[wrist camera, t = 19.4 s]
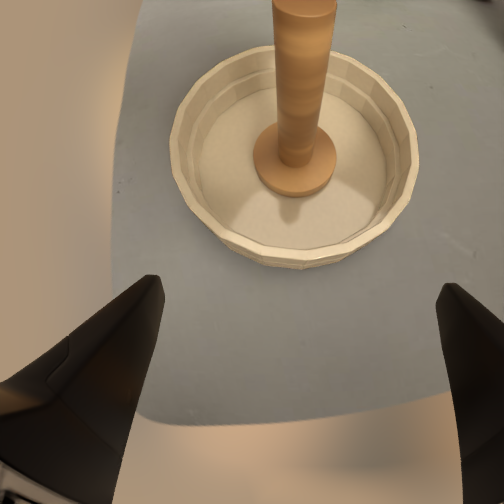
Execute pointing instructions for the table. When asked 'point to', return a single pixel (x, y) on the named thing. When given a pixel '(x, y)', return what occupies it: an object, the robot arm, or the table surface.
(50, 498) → the robot arm
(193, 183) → the bowl
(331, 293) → the table surface
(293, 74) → the tan wooden tall post
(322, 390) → the table surface
